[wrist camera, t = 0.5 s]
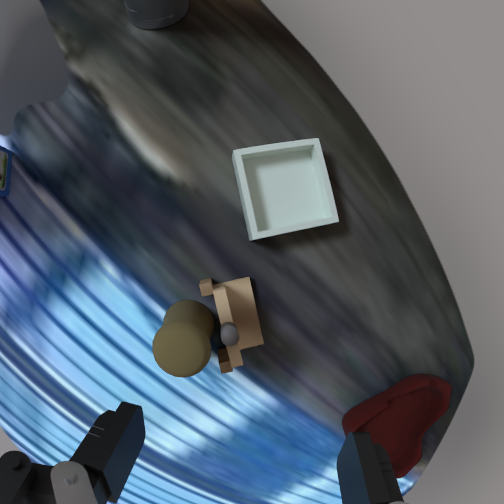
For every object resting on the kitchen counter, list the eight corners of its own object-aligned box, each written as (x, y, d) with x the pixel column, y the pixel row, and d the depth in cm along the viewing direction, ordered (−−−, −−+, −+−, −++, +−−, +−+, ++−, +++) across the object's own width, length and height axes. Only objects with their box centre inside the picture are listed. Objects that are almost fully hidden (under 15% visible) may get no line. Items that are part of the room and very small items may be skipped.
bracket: (200, 280, 36) (197, 289, 27) (247, 270, 36) (258, 275, 27) (220, 358, 36) (223, 389, 27) (264, 348, 37) (280, 375, 28)
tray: (231, 158, 36) (233, 150, 33) (310, 146, 37) (318, 138, 34) (249, 240, 36) (252, 239, 33) (329, 223, 38) (339, 221, 35)
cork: (224, 317, 36) (230, 344, 25) (197, 358, 36) (193, 399, 25) (180, 289, 35) (166, 305, 24) (154, 332, 35) (132, 363, 24)
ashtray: (363, 356, 39) (381, 368, 34) (441, 373, 40) (460, 383, 36) (313, 462, 38) (323, 481, 33) (395, 465, 40) (409, 480, 35)
